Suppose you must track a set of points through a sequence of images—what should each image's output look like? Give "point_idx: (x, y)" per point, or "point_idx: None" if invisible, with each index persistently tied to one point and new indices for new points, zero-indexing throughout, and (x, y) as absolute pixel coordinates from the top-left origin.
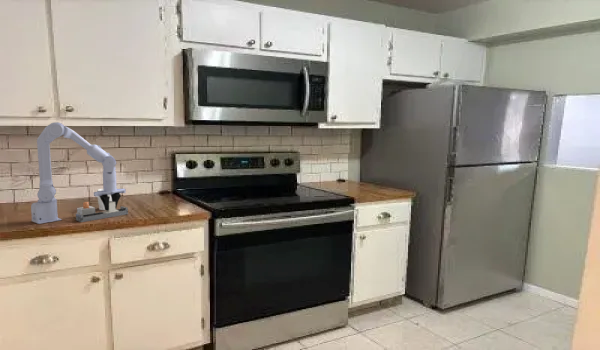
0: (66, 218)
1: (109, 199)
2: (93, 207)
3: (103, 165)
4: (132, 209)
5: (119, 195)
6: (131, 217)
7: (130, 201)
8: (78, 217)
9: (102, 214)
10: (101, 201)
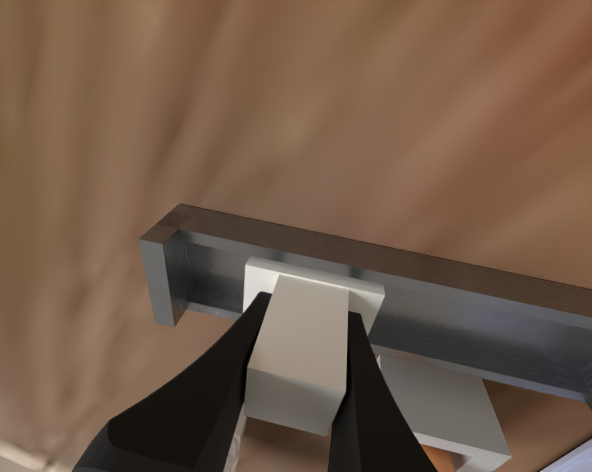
0: (525, 433)
1: None
2: None
3: None
4: (88, 290)
5: (126, 453)
6: (233, 22)
7: (44, 403)
8: None
9: (448, 285)
10: (227, 470)
